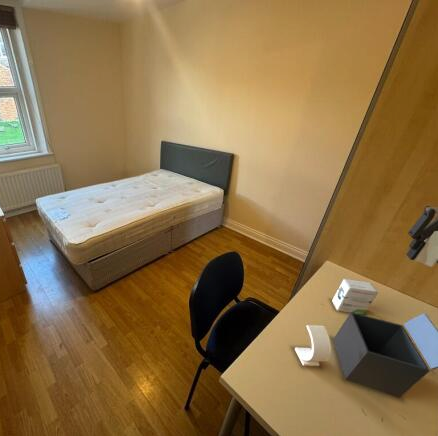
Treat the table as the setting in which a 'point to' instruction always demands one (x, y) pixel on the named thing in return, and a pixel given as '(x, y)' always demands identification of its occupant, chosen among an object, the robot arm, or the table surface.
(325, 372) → the table surface
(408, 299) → the table surface
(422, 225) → the robot arm
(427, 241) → the box
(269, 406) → the table surface
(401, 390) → the grey container
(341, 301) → the ink box
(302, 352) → the headphone stand
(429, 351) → the panel
